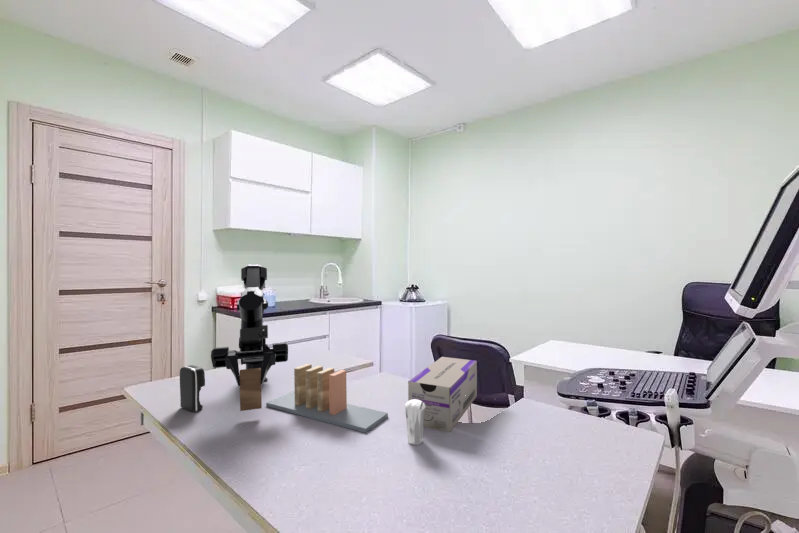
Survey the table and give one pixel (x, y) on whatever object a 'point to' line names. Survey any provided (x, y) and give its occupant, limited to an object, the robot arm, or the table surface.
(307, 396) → the maple domino
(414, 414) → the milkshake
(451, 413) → the surgical sutures box
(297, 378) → the maple domino
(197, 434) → the table surface
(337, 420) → the slate board
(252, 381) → the walnut domino
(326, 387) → the maple domino
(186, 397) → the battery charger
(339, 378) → the terracotta domino
